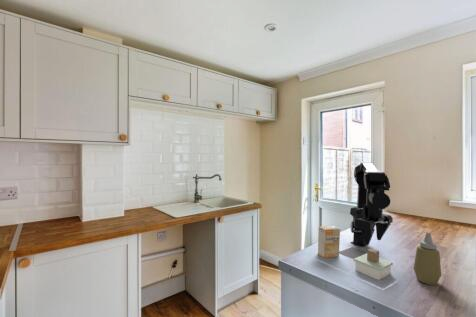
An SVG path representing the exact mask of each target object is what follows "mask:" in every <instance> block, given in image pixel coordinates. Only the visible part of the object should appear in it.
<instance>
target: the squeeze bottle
mask: <svg viewBox="0 0 476 317" xmlns="http://www.w3.org/2000/svg"><path fill="white" fill-rule="evenodd" d="M440 256H441V254H440V251H439V249H437V244H436V242H433V238H432V234H431V232H428V231H427V232H425V236H424V238H423V240H420V241H419V245H418V246H416V251H415V256H414V263H413V271H414V274H415V278H416V280H418V281H419V282H421V283H423V284H426V285H433V286H434V285H437V284H438V283H439V281H440V278H441V277H442V268H441V267H442V266H441V257H440Z"/></svg>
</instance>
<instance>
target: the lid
mask: <svg viewBox="0 0 476 317" xmlns="http://www.w3.org/2000/svg"><path fill="white" fill-rule="evenodd" d="M366 252H367V253H366V254H364V255H362V256H359V257H357V258H354V259H353V261H354V262H355V263H356V262H358V263H360V264H363V265H365V266H368V267H370V268H373V269H375V270H378V271H382V270H384V269H385V268H387V267H389V266H391V267H392V266H393V264H394V263H393V261H390V260H388V259H385V258H381V257H379V256H380V250H377V249H374V248H369V249H367V251H366Z"/></svg>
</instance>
